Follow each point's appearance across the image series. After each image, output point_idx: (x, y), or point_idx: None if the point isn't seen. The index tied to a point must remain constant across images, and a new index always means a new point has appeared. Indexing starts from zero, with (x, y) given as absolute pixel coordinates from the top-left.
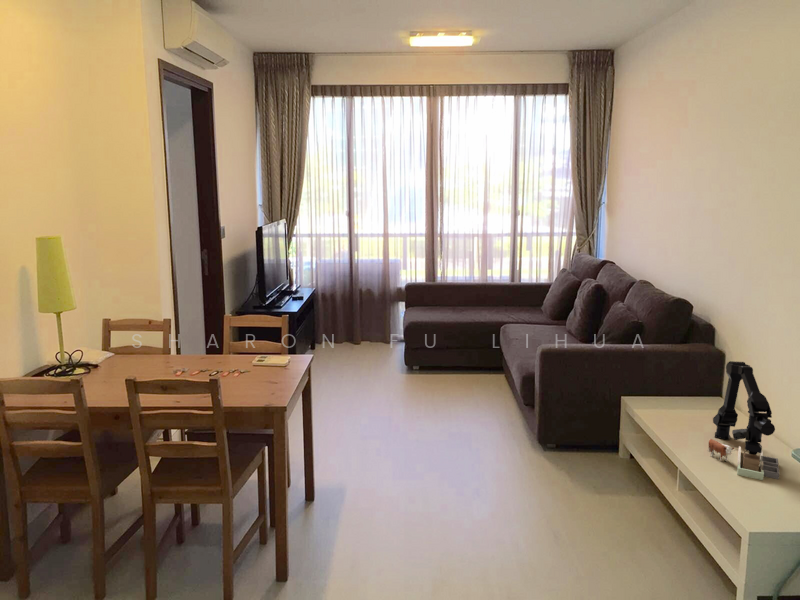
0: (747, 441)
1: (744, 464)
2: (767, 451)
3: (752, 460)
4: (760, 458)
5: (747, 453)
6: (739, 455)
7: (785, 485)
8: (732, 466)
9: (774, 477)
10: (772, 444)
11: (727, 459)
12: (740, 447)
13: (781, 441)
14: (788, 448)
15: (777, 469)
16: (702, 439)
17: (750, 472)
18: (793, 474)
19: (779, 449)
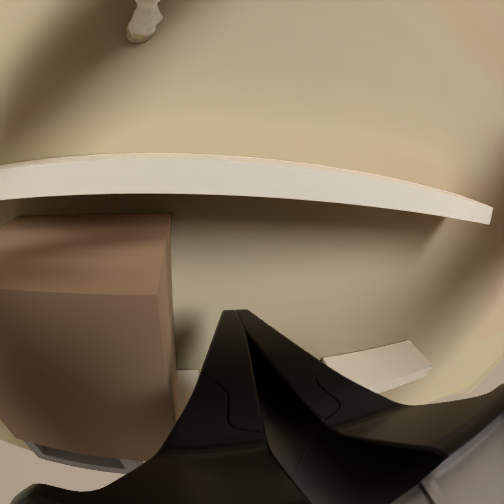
0: (487, 440)
1: None
2: (452, 353)
3: None
4: (338, 368)
5: (150, 356)
6: (251, 178)
7: (10, 431)
8: (15, 108)
9: None
10: (491, 347)
11: (138, 21)
12: (480, 219)
13: (497, 359)
14: (459, 392)
15: (98, 466)
16: (500, 11)
17: None
18: None
19: (459, 378)
